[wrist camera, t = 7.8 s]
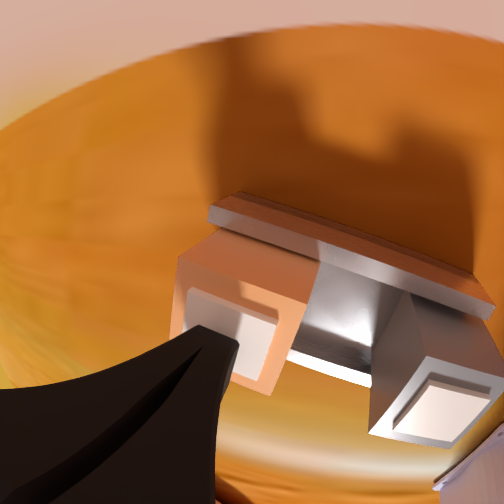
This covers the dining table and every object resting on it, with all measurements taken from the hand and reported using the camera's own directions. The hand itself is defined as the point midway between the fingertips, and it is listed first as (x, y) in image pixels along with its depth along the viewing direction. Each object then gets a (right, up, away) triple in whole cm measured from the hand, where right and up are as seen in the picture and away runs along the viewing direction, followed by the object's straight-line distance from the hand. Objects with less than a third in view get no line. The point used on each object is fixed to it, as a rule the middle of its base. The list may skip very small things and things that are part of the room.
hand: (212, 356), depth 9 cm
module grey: (+9, -1, +4) cm, 10 cm away
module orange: (+2, +2, +5) cm, 6 cm away
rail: (+5, +1, +6) cm, 8 cm away
